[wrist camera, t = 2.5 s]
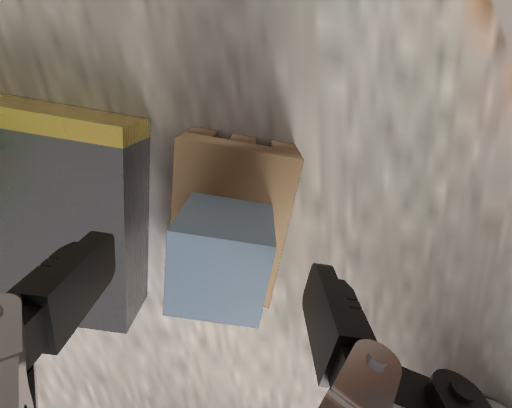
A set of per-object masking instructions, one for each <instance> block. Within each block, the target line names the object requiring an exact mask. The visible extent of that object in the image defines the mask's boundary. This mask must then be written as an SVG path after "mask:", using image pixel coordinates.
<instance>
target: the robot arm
mask: <svg viewBox="0 0 512 408" xmlns="http://www.w3.org/2000/svg"><path fill="white" fill-rule="evenodd" d="M115 267H116V264H115V240H114V235H113V234H111V233H104V232H97V231H90V232H89V233H87V234H86V235H85V236H84V237H83V238H82V239H81V240H80V241H79V242H75V241H73V242H71V243H69V244H67V245H65V246H63V247H60V248H59V249H58V250H56V251H55V252H54V253H53V254H52V255H50V256H49V258H48V259H46V260H44V261H43V262H42V263H41V264H40V266H37V267H36V268H35V269H34V270H32V271H31V272H30V273H29V274H28V275H26V276H25V277H24V278H23V279H22V280H20V281H19V282H18V283H17V284H16V285H15V286H13V287H12V288H11V289H10V290H9V291H7V292H6V293H0V408H38V396H37V379H36V366H35V362H36V360H37V359H38V358H39V357H40V355H41V354H42V353H43V354H51V355H58V353H59V352H60V351H61V349H62V348H63V346H64V345H65V344H66V342H67V341H68V340H69V338H70V337H71V336H72V334H73V333H74V331H75V330H76V329H77V327H78V326H79V325H80V323H81V322H82V321H83V319H84V318H85V316H86V315H87V314H88V312H89V311H90V310H91V308H92V307H93V306H94V304H95V303H96V301H97V300H98V299H99V297H100V296H101V295H102V293H103V292H104V291H105V289H106V288H107V286H108V285H109V284H110V282H111V281H112V279H113V276H114V273H115ZM303 311H304V316H305V321H306V326H307V331H308V336H309V341H310V346H311V350H312V355H313V360H314V365H315V370H316V375H317V380H318V385H319V387H328V388H329V390H328V391H327V393H326V395H325V397H324V399H323V401H322V402H321V404H320V406H319V408H506V407H505V406H504V405H502V404H500V403H499V402H497V401H494V400H491V399H488V398H485V396H484V395H483V394H482V393H481V391H480V390H479V389H478V388H477V387H476V386H475V385H474V384H473V383H471V382H470V381H469V380H468V379H466V378H465V377H463V376H461V375H460V374H458V373H456V372H453V371H451V370H447V369H438V370H436V371H435V372H434V373H433V375H432V376H431V378H429V377H426V376H424V375H421V374H419V373H416V372H414V371H411V370H409V369H406V368H404V367H402V366H401V364H400V362H399V360H398V358H397V357H396V356H395V354H394V353H393V352H392V351H391V350H390V349H388V348H387V347H386V346H384V345H383V344H381V343H379V342H377V340H376V338H375V336H374V334H373V331H372V329H371V327H370V325H369V323H368V321H367V318H366V316H365V314H364V312H363V310H362V308H361V305H360V303H359V302H358V299H357V297H356V295H355V293H354V290H353V289H352V288H351V287H350V286H349V285H348V284H347V283H346V281H345V280H341V279H338V277H337V275H336V273H335V270H334V268H333V266H331V265H324V264H317V263H314V264H313V265H312V267H311V270H310V273H309V277H308V280H307V283H306V287H305V290H304V294H303Z"/></svg>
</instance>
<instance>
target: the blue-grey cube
mask: <svg viewBox="0 0 512 408" xmlns="http://www.w3.org/2000/svg"><path fill="white" fill-rule="evenodd" d="M276 248H277V246H276V236H275V226H274V215H273V205H271V204H264V203H258V202H252V201H245V200H239V199H233V198H226V197H220V196H214V195H207V194H201V193H195V192H192V193H191V195H190V196H189V198H188V199H187V201H186V202H185V204H184V205H183V207H182V208H181V210H180V211H179V213H178V214H177V216H176V217H175V219H174V221H173V222H172V224H171V225H170V227H169V228H168V230H167V236H166V259H165V281H164V303H163V315H164V316H172V317H179V318H186V319H194V320H201V321H208V322H216V323H223V324H230V325H238V326H245V327H252V328H259V324H260V319H261V315H262V311H263V306H264V302H265V297H266V293H267V288H268V284H269V279H270V275H271V270H272V266H273V261H274V257H275V252H276Z"/></svg>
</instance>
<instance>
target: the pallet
mask: <svg viewBox="0 0 512 408" xmlns="http://www.w3.org/2000/svg"><path fill="white" fill-rule="evenodd" d="M217 132H218V131H216V130H210V129H205V128H199V127H192V128H191V129H189V130H187V131H186V132H184V133H182V134H180V135H179V136H177V137H175V142H174V161H173V181H172V200H171V219H170V225H171V224H172V222H173V221H174V219H175V217H176V216H177V214H178V213H179V211H180V210H181V208H182V207H183V205H184V204H185V202H186V201H187V199H188V198H189V196H190V195H191V193H192V192H195V193H201V194H207V195H214V196H220V197H226V198H233V199H239V200H245V201H252V202H258V203H264V204H271V205H273V215H274V226H275V236H276V246H277V248H276V252H275V257H274V261H273V266H272V270H271V275H270V279H269V284H268V288H267V293H266V297H265V302H264V306H263V307H265V308H269V305H270V301H271V297H272V292H273V288H274V284H275V280H276V276H277V271H278V267H279V263H280V259H281V254H282V250H283V246H284V242H285V238H286V233H287V229H288V225H289V221H290V217H291V212H292V208H293V204H294V200H295V196H296V191H297V187H298V183H299V179H300V174H301V170H302V166H303V162H304V159H303V157H302V155H301V154H300V152H299V150H298V149H297V147H296V145H295V144H292V143H286V142H280V141H275V140H271V145H270V146H264V145H258V144H256V137H251V136H245V135H240V134H234V133H233V134H232V136H231V137H230V139H223V138H217Z"/></svg>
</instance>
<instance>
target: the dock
mask: <svg viewBox="0 0 512 408" xmlns="http://www.w3.org/2000/svg"><path fill="white" fill-rule="evenodd" d="M149 164H150V119H146V118H140V117H134V116H128V115H122V114H117V113H111V112H105V111H99V110H93V109H87V108H82V107H76V106H70V105H64V104H58V103H52V102H47V101H41V100H35V99H29V98H23V97H17V96H12V95H6V94H0V293H6V292H7V291H9V290H10V289H11V288H12V287H13V286H15V285H16V284H17V283H18V282H19V281H20V280H22V279H23V278H24V277H25V276H26V275H28V274H29V273H30V272H31V271H32V270H34V269H35V268H36V267H37V266H40V264H41V263H42V262H43V261H44V260H46V259H48V258H49V256H50V255H52V254H53V253H54V252H55V251H56V250H58V249H59V248H60V247H63V246H65V245H67V244H69V243H71V242H73V241H75V242H79V241H80V240H81V239H82V238H83V237H84V236H85V235H86V234H87V233H89V232H90V231H97V232H104V233H111V234H113V235H114V240H115V264H116V267H115V273H114V276H113V279H112V281H111V282H110V284H109V285H108V286H107V288H106V289H105V291H104V292H103V293H102V295H101V296H100V297H99V299H98V300H97V301H96V303H95V304H94V306H93V307H92V308H91V310H90V311H89V312H88V314H87V315H86V316H85V318H84V319H83V321H82V322H81V323H80V325H79V326H78V327H81V328H88V329H96V330H103V331H111V332H118V333H127V332H128V330H129V328H130V326H131V324H132V323H133V321H134V319H135V317H136V315H137V313H138V312H139V310H140V308H141V306H142V304H143V302H144V301H145V299H146V297H147V272H148V218H149Z"/></svg>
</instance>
